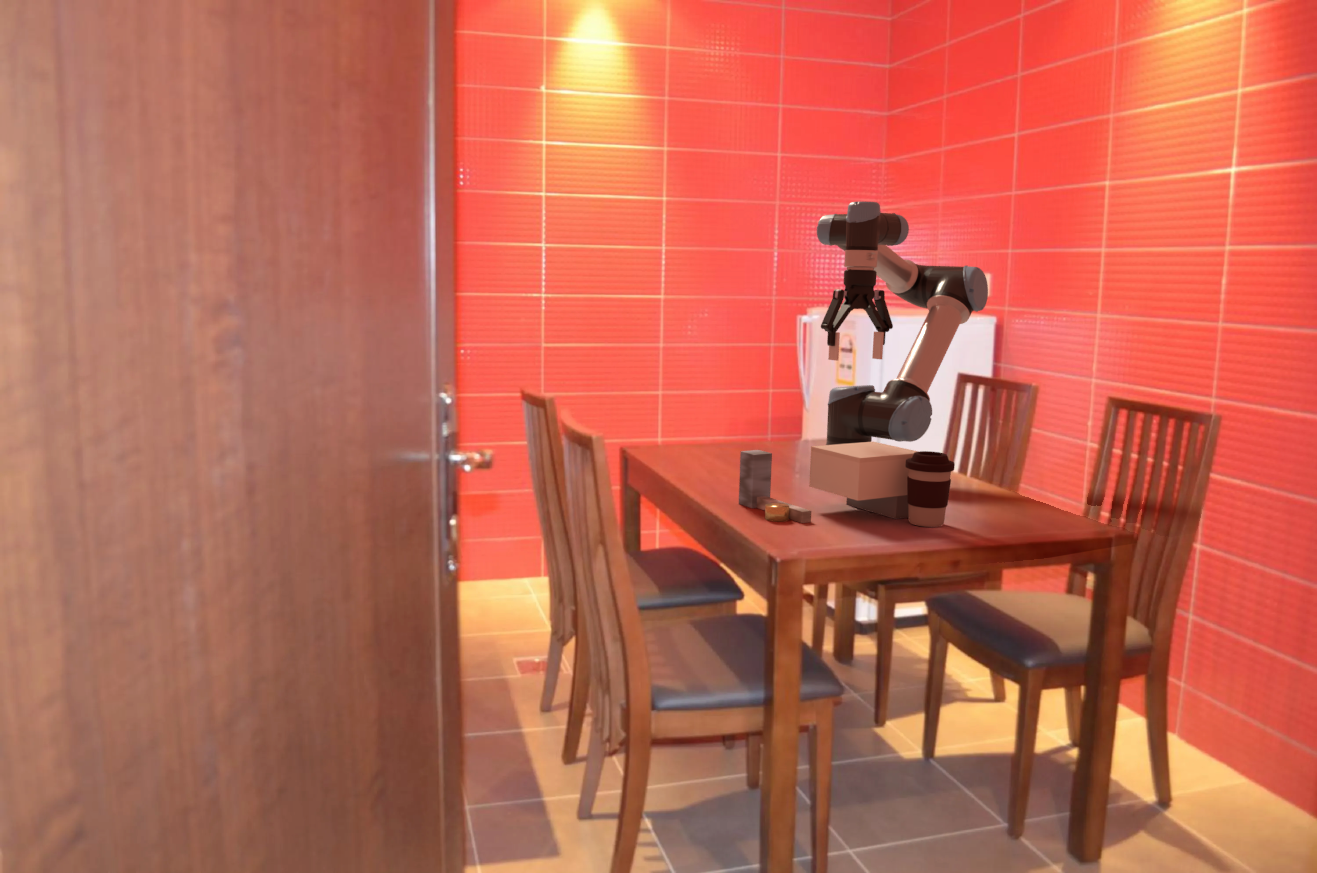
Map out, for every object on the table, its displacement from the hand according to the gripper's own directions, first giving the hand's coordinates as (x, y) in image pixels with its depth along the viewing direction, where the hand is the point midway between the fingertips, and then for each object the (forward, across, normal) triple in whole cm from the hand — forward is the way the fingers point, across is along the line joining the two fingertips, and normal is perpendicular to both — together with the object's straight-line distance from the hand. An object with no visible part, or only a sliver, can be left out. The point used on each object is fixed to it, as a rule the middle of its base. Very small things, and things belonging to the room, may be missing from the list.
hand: (855, 359), depth 251 cm
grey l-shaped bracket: (+32, -31, -12) cm, 46 cm away
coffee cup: (+32, -8, -34) cm, 47 cm away
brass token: (+32, -35, -17) cm, 50 cm away
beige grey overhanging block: (+32, -13, -20) cm, 40 cm away
